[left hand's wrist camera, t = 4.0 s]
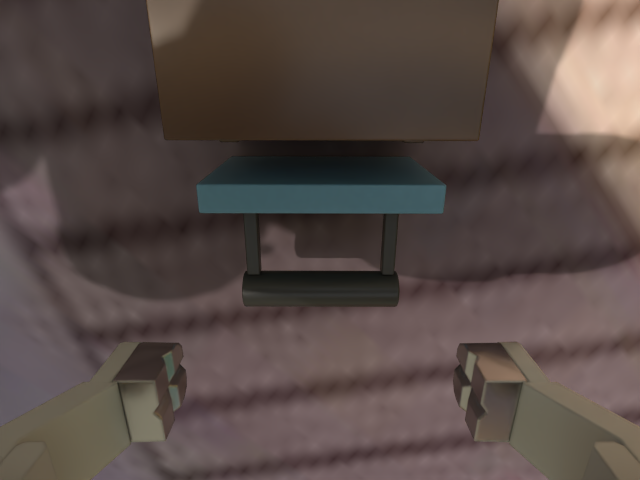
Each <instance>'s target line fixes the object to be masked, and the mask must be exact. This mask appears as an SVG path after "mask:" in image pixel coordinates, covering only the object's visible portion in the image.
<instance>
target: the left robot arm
mask: <svg viewBox="0 0 640 480" xmlns="http://www.w3.org/2000/svg"><path fill="white" fill-rule="evenodd" d="M456 356H457V358H458V360H459V363H460V365H459V366H458V367H457V368H456V369H455V370H454V377H453V385H454V393H455V397H456V400H457V403H458V405H459V407H461V408H462V409H463V410H465V411H466V417H465V421H466V423H467V426H468V428H469V430H470V432H471V435H472V437H473V439H474V441H485V442H509V444H510V445H511V446H512V447H513V448H514V449H515V450H517V451H518V452H519V453H520V454H521V455H522V456H523V457H524V458H526V459H527V460H528V461H529V462H530V463H531V464H532V465H533V466H535V467H536V468H537V469H538V470H539V471H540V472H541V473H542V474H544V475H545V476H546V477H547V478H548V479H549V480H640V427H639V426H637V425H635V424H633V423H631V422H630V421H628V420H626V419H624V418H622V417H620V416H618V415H617V414H615V413H613V412H611V411H609V410H607V409H605V408H604V407H602V406H600V405H598V404H596V403H594V402H593V401H591V400H589V399H587V398H585V397H583V396H581V395H580V394H578V393H576V392H574V391H572V390H570V389H568V388H567V387H565V386H563V385H561V384H559V383H557V382H550V381H549V379H548V378H547V377H546V375H545V374H544V373H543V372H542V370H541V369H540V368H539V367H538V365H537V364H536V363H535V362H534V360H533V359H532V358H531V357H530V355H529V354H528V353H527V352H526V350H525V349H524V348H523V347H522V345H521V344H520V343H518V342H497V343H460V344H459V346H458V349H457V355H456ZM182 358H183V350H182V346H181V345H180V344H179V343H163V342H123V343H120V344H119V345H118V346H117V348H116V349H115V350H114V351H113V353H112V354H111V355H110V356H109V358H108V359H107V360H106V361H105V363H104V364H103V365H102V367H101V368H100V369H99V370H98V372H97V373H96V374H95V375H94V377H93V378H92V379H91V380H90V382H83V383H81V384H79V385H77V386H75V387H73V388H71V389H70V390H68V391H66V392H64V393H62V394H60V395H58V396H57V397H55V398H53V399H51V400H49V401H47V402H45V403H44V404H42V405H40V406H38V407H36V408H34V409H32V410H31V411H29V412H27V413H25V414H23V415H21V416H19V417H18V418H16V419H14V420H12V421H10V422H8V423H6V424H5V425H3V426H1V427H0V480H91V479H92V478H93V477H94V476H95V475H97V474H98V473H99V472H100V471H101V470H102V469H103V468H104V467H106V466H107V465H108V464H109V463H110V462H111V461H112V460H113V459H115V458H116V457H117V456H118V455H119V454H120V453H121V452H122V451H124V450H125V449H126V448H127V447H128V446H129V445H130V444H131V442H154V441H166V439H167V437H168V434H169V432H170V430H171V428H172V425H173V423H174V421H175V417H174V411H175V410H177V409H178V408H179V407H181V405H182V402H183V400H184V397H185V392H186V387H187V376H186V370H185V369H184V368H183V367H182V366H181V365H180V362H181V360H182Z"/></svg>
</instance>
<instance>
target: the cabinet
mask: <svg viewBox="0 0 640 480" xmlns="http://www.w3.org/2000/svg"><path fill="white" fill-rule="evenodd" d="M498 2H499V0H146V5H147V13H148V20H149V28H150V35H151V43H152V50H153V57H154V65H155V72H156V80H157V87H158V95H159V102H160V110H161V117H162V124H163V132H164V139H165V140H326V141H478V140H479V135H480V128H481V121H482V114H483V107H484V100H485V93H486V86H487V79H488V72H489V65H490V58H491V51H492V44H493V37H494V30H495V23H496V16H497V9H498Z"/></svg>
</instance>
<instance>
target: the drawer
mask: <svg viewBox="0 0 640 480" xmlns="http://www.w3.org/2000/svg"><path fill="white" fill-rule="evenodd" d="M219 141H220V142H239V141H240V140H219ZM403 142H405V143H423V142H424V141H403ZM196 188H197V197H198V206H199V212H200V213H243V216H244V231H245V245H246V259H247V271H245V273H244V277H243V284H242V297H243V303H244V305H245V306H308V307H396V306H397V304H398V301H399V280H398V275H397V273H396V271H394V267H395V255H396V242H397V229H398V216H399V214H442V213H443V211H444V202H445V194H446V185H445V184H444V183H443V182H441V181H440V180H439V179H437V178H436V177H435V176H434V175H432V174H431V173H430V172H429V171H427V170H426V169H425V168H423V167H422V166H421V165H420V164H418V163H417V162H416V161H414V160H413V159H412V158H411V157H311V156H232V157H230V158H229V159H228V160H227V161H225V162H224V163H223V164H222V165H220V166H219V167H218V168H217V169H215V170H214V171H213V172H212V173H210V174H209V175H208V176H207V177H205V178H204V179H203V180H202V181H200V182H199V183H198V184H197V185H196ZM258 213H361V214H384V216H383V232H382V248H381V264H380V270H381V271H261V252H260V234H259V216H258Z"/></svg>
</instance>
